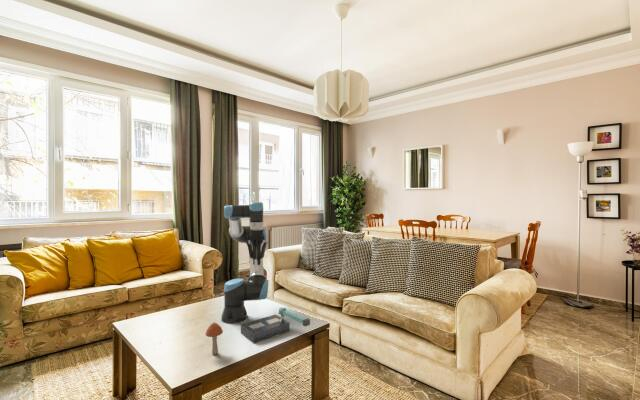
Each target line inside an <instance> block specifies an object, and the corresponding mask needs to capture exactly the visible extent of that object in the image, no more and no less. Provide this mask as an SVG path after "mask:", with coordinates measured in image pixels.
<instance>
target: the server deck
mask: <svg viewBox="0 0 640 400" xmlns="http://www.w3.org/2000/svg"><path fill="white" fill-rule="evenodd" d="M290 324H291V323H290V322H289V321H287V320H286V319H285V316H284V315H281V314H280V316H279V315H277V314H273V315H269V316H265V317H262V318H258V319H255V320H250V321H248V322H244V323H240V334H241V335H242V336H244V337H245V338H246V339H247V340H249V341H250V342H251V343H253V344H256V343H258V342H261V341H264V340H265V341H266V340H267V339H271V338H274V337H277V335H278V336H282V335H283V334H286V332H287V333H289V331H291V328H290V327H291V326H290Z"/></svg>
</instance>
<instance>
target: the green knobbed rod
mask: <svg viewBox="0 0 640 400" xmlns="http://www.w3.org/2000/svg"><path fill="white" fill-rule="evenodd" d="M278 315H280V316H281V315H284V317H287V318H288V319H291V320H293V321H295V322H298V323H300V324H302V326H304V327H308V326H310V325H311V319H310V318H305V317H303V316H301V315H298V314H296V313H294V312H291V311H289V310H287V309H286V307H280V308H278Z"/></svg>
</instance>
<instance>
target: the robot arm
mask: <svg viewBox="0 0 640 400" xmlns="http://www.w3.org/2000/svg"><path fill="white" fill-rule="evenodd" d="M223 216H224V218H225V219H228V225H229V228H228V234H229V236H230V238H231V239H232V240H234V241H235V242H237V243H241V244H246V246H247V250H248V254H249V277H248V278H247V280H245V279H244V278H240V277H239V278H233V279H230V280H228V281H226V282H225V283H224V287H223V288H224V289H223V292H224V295H223V296H224V297H223V301H224V303H223V304H224V307H223V310H222V313H221V321H222V322H224V323H228V324H236V323H240V322H244V321H245V320H247V318H248V312H247V309H246V306H245V301H246V302H247V301H261V300H262V301H263V300H266V299H267V297H268V295H269V294H268V293H269V283H270V281H269V280H268V279H267V277H266V276H265V275H264V257H265V253H266V249H267V245H268V243H269V242H268V241H267V232H266V228H265V226H264V203H263V202H262V201H259V202H257V201H254V202H249V204H238V205H236V204H230V205H225V206H224V207H223ZM246 218H247V219H249V225H246V226H245V225H242V219H246Z"/></svg>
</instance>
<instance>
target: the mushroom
mask: <svg viewBox="0 0 640 400" xmlns="http://www.w3.org/2000/svg"><path fill="white" fill-rule="evenodd" d="M222 328H223V327H221V326H220V325H219V324H218V323H216V322H212V323H210V325H209V326H208V327H207V329H206V332H205V336H206V337H209V338H212V339H211V340H212V344H211V345H212V346H211V347H212V349H211V353H212V355H218V354H219V347H218V341H217V340H218V336H221V335H222V334H223V332H224V329H222Z"/></svg>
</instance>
